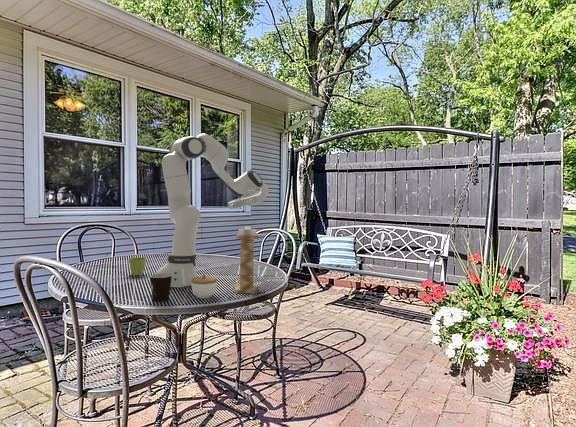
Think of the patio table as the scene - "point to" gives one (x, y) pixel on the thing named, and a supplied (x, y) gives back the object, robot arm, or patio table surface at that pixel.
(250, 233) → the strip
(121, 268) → the patio table surface
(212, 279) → the lidded jar
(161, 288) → the coffee mug
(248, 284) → the stand
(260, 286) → the patio table surface
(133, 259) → the plant pot
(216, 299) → the patio table surface
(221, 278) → the patio table surface
